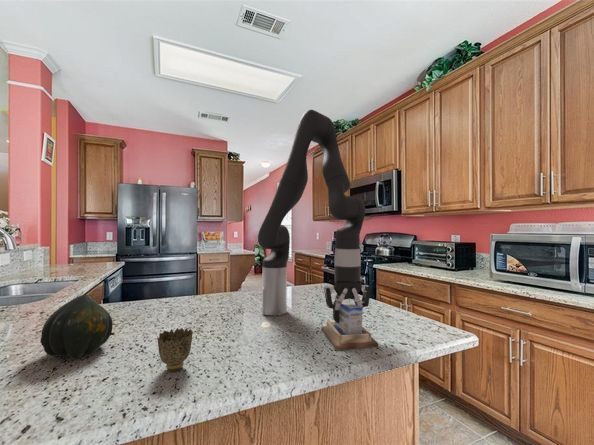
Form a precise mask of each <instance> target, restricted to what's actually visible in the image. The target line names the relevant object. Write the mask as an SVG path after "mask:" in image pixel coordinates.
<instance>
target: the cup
mask: <svg viewBox="0 0 594 445" xmlns="http://www.w3.org/2000/svg"><path fill="white" fill-rule="evenodd" d="M193 333H194V332H193V330H192V328H191V329H189V330H188V328H185V329H183V328H178V327H177V328H176V329H175V331H174V330H173V329H172V328H171V329H170V331H167V330H164V331H163V332H160V333H159V334H158V336H156V337H157V347H158V354H159V359H160V360H161V362H162V363H164V364H165V365H166V366H165V368H166V369H167V370H166V371H169V372H176V371H180V370H181V369H183V368H184V367H183V366H185V362H184V361H186V360H187V358H189V356H190V353H191V348H192V340H193Z"/></svg>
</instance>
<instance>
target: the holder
mask: <svg viewBox="0 0 594 445" xmlns="http://www.w3.org/2000/svg"><path fill="white" fill-rule="evenodd" d="M320 329H321V332H322V333H323V334H324V336H325V338H326V339H327V340H328V342H329V343H330V344H331V346H332V347H333V348H334V350H335V351H340V350H341V351H342V350H352V349H354V350H356V349H367V348H368V349H369V348H379V342H378V341H376V340H375V338H373V337H372V334H371V333H370V331H368V330H367V329H366V328H365V327H364V326H362V334H352V335H342V334H340V333H339V332H338V331H337V330H336V328H335V321H334V320H327V321H326V325H322V326H320Z"/></svg>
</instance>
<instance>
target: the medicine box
mask: <svg viewBox="0 0 594 445" xmlns="http://www.w3.org/2000/svg"><path fill="white" fill-rule="evenodd" d="M363 308H364V307H363ZM363 308H362V307H360V306H357V305H355V303H354V302H353V303H352V302H350V301H348V300H343V302H342V303H341V305H340V307H339V309H338V310H339V323H336V322H335V328H336V330H337V331H338V332H339V333H340V334H342V335H352V334H362V327H363Z"/></svg>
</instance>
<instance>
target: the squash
mask: <svg viewBox="0 0 594 445" xmlns="http://www.w3.org/2000/svg"><path fill="white" fill-rule="evenodd" d="M113 326H114V325H113V318H112V316H111V314H110V313H109V311H107V310H106V309H105V308H104V307H103V306H102V305H101V304H99V303H98V302H97V301H96V300H95V299H93V297H91V296H90V295H88V294H83V295H79V296H77V297H75V298H73V299H71V300H69V301H68V302H66V303H65V304H63V305H62V306H60V307H59V308H58V309H56V310H55V311H54V312H53V313H52V314H51V315H50V316H49V317H48V318H47V320H46V321H45V323H44V325H43V327H42V330H41V337H40V344H41V345H42V347H43V351H44V352H45V353H46V354H47V355H49V356H52V357H53V356H54V357H59V356H61V357H64V356H68V357H69V358H71V359H74V360H75V359H76V360H77V359H79V358H81V357H82V356H84V354H86V355H89V354H92V353H94V352H96V351H97V350H99V348H100V347H101V346H103V345H104V344H105V343H107V341H108V340H109V339H110V336H111V335H112V331H113Z"/></svg>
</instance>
